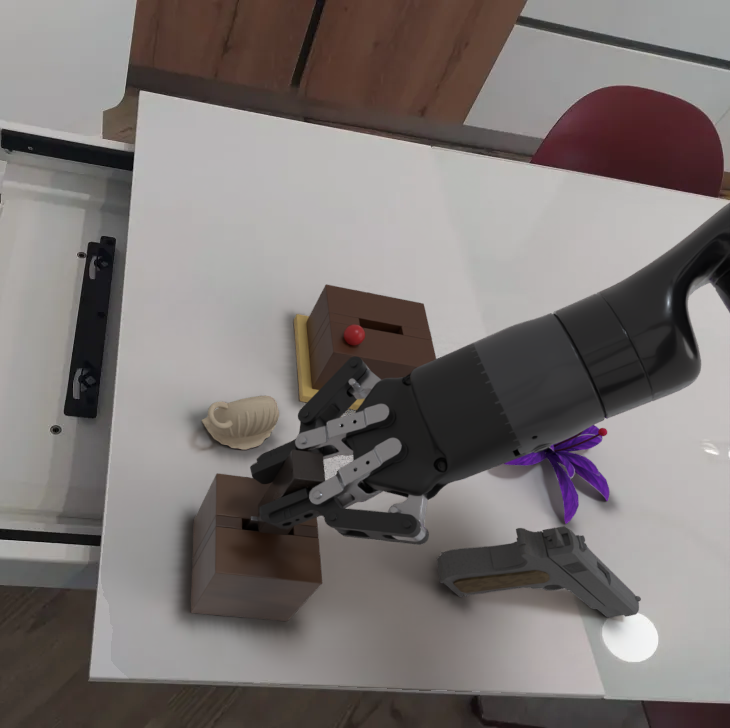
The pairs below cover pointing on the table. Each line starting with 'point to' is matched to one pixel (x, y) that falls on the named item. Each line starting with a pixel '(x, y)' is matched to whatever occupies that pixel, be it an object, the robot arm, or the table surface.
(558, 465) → the decorative flower
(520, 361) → the robot arm
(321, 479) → the knife
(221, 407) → the decorative ornament
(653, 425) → the table surface
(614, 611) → the handgun
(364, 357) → the cake
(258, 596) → the knife block
